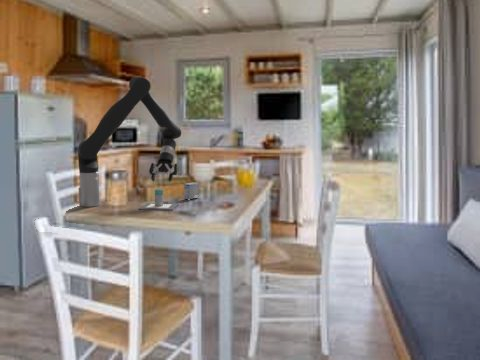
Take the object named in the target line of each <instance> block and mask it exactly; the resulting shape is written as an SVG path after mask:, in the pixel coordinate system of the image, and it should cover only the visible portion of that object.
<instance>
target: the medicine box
mask: <svg viewBox="0 0 480 360" xmlns="http://www.w3.org/2000/svg"><path fill="white" fill-rule="evenodd" d="M195 195H199V196H200V183H198V182H189V183H184V184H183V199H184V200H185V199H192V198H193V197H194V196H195Z"/></svg>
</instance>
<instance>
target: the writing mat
mask: <svg viewBox="0 0 480 360" xmlns="http://www.w3.org/2000/svg"><path fill="white" fill-rule="evenodd" d="M178 207H179V204H178V203H163V206H159V207H158V206H155V203H149V202H148V203H145V204H143V205H142V206H140V207H139V208H138V210H140V211H141V210H142V211H143V210H144V211H147V210H148V211H174V210H175V209H176V208H178ZM174 208H175V209H174ZM173 209H174V210H173Z"/></svg>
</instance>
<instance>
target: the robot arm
mask: <svg viewBox="0 0 480 360" xmlns="http://www.w3.org/2000/svg"><path fill="white" fill-rule="evenodd" d="M128 87H129V90H128V92H126V94H125V95H124V96H123V97H121V98H120V99H119V100H117V101H116V102H114V104H112V106H111V107H110V108H109V109H108V110H107V111H106V112H105V114H104V115H103V117H102V118H101V120H100V121H99V122H98V125H97V126H96V128H95V130H94V131H93V132H92V133H91V134H90V135H89V137H88V138H86V139H85V140H83V141H82V142H80V143H79V144H78V147H77V157H78V171H79V187H78V201H79V203H78V206H79V207H84V208H85V207H86V208H92V207H98V206H100V204H101V203H100V201H101V199H100V179H99V178H100V177H99V174H100V173H99V164H98V154H99V152H100V150H101V149H102V147H103V146H104V144H105V143H106V142H107V140H108V139H109V138H110V137H111V136H112V135H113V134H114V133H115V132H116V131H117V130H118V129H119V128H120V127H121V125H122V124H123V122H125V120H126V119H127V117H128V116H129V115H130V113H132V111H133V110H134V108H135V106H136V105H138V104H139V102H140V101H141V102H142V104H143V105H144V107H145V108H146V110H147V111H148V112H149V114H150V115H151V116H152V118H153V119H154V121H155V122H156V124H157V125H158V127H160V128H165V129H163V130H162V132H161V135H162V136H161V137H162V144H161V145H162V146H161V149H160V152H159V156H158V160H157V163H155V164H154V163H153V162H151V164H150V167H149V170H148V172H149V176H150V175H151V176H150V177H151V178H150V179H151V181H152V182H155V180H156V176H157V175H158V174H159V173H168V174H169V175H168V182H171V181H172V180H173V176H177V175H178V169H179V167H178V163H173V162H174V158H175V151H176V146H177V144H176V141H175V139H179V138H180V137H182V130H181V127H180V126H179V125H178V124H177V123H176V122H174V120H172V119H171V118H170V117H169V115H168V114H167V112H166V111H165V109H164V108H163V107H162V106H161V104H159V103H158V101H156V99H155V98H154V97H153V96H152V94H151V92H150V90H151V81H150V80H149V78H146V77H143V76H138V75H137V76H133V77H132V78H131V79H130V80H129V82H128ZM172 169H173V171H172Z"/></svg>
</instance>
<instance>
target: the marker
mask: <svg viewBox="0 0 480 360" xmlns="http://www.w3.org/2000/svg"><path fill="white" fill-rule="evenodd" d="M163 201H164V189H161V188H159V189H158V188H157V189H154V204H155V206H158V207H159V206H163V204H164V202H163Z"/></svg>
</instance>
